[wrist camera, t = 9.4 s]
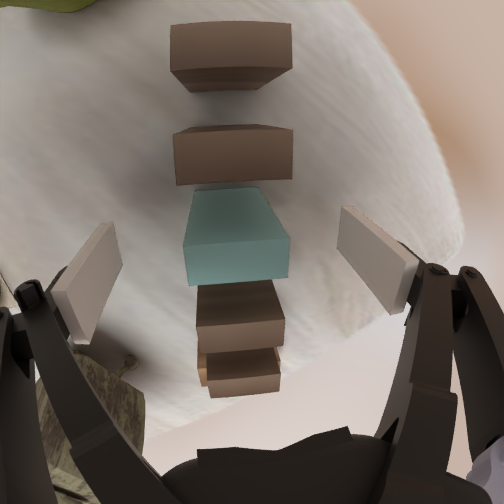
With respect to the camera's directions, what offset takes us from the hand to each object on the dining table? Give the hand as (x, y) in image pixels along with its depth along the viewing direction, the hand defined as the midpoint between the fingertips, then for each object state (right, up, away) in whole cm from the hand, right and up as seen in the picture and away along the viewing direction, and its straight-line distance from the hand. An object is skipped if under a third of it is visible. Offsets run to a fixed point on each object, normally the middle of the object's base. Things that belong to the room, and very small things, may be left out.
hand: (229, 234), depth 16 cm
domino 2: (-1, +7, +5) cm, 9 cm away
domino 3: (-1, -1, +9) cm, 9 cm away
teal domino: (-1, +3, +7) cm, 8 cm away
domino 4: (-1, -6, +11) cm, 13 cm away
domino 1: (-1, +12, +2) cm, 12 cm away
